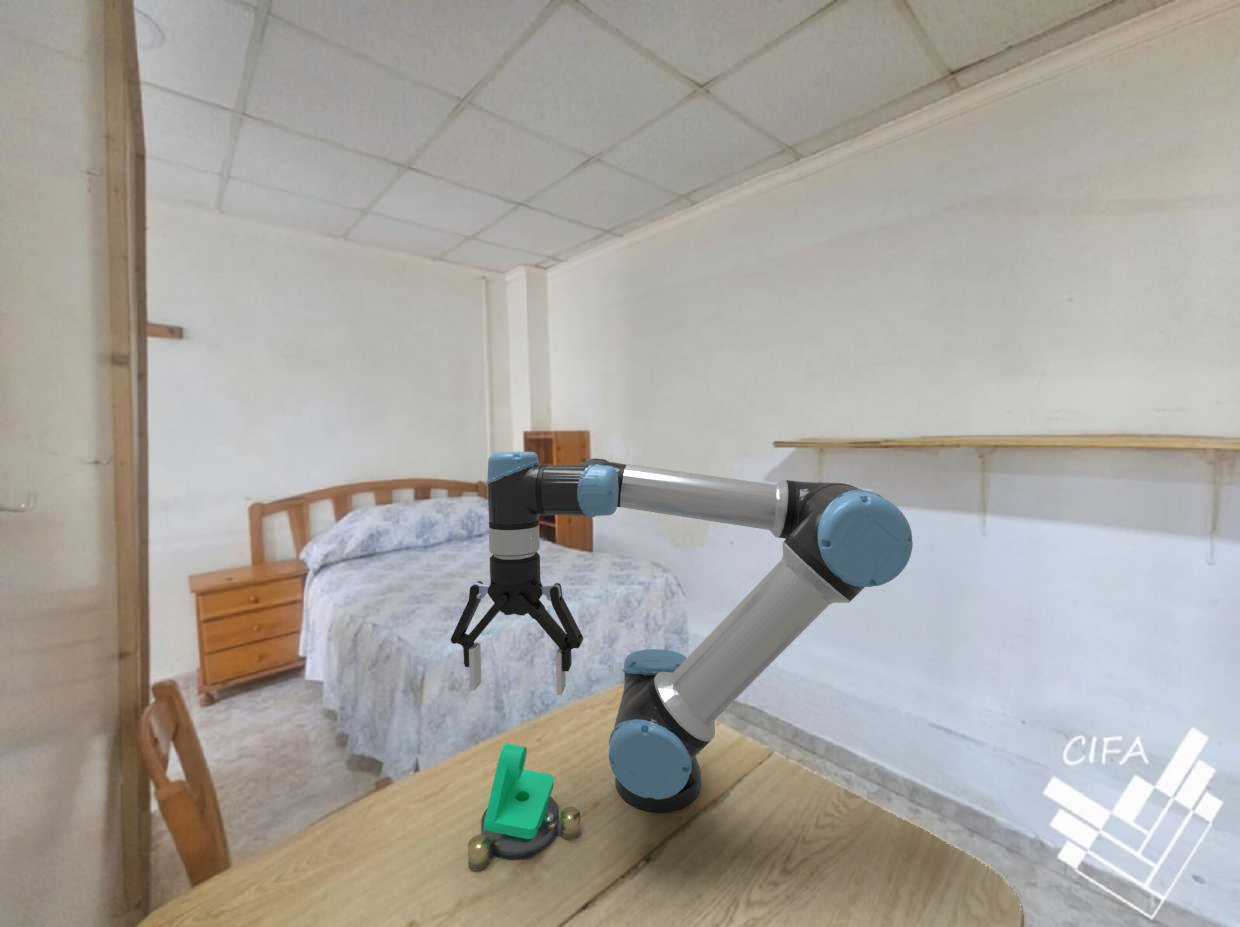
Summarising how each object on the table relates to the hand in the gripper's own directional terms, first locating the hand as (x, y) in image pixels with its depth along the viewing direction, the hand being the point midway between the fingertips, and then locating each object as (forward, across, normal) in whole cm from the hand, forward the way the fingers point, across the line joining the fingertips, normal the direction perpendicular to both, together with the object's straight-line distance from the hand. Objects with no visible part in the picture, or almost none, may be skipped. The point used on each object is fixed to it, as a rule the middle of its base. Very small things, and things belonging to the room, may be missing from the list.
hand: (518, 688), depth 80 cm
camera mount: (+20, 0, 0) cm, 20 cm away
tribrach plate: (+23, -2, 0) cm, 23 cm away
